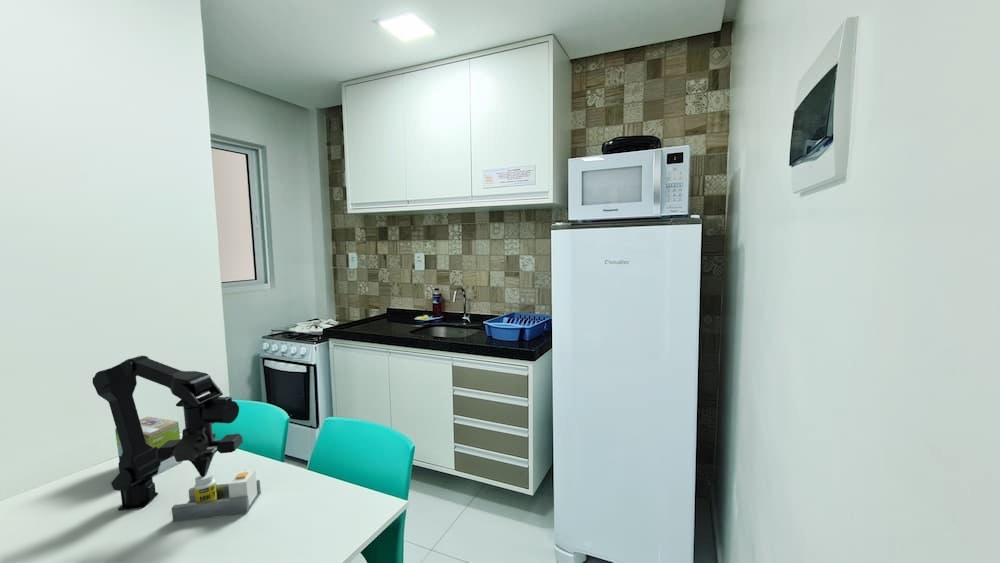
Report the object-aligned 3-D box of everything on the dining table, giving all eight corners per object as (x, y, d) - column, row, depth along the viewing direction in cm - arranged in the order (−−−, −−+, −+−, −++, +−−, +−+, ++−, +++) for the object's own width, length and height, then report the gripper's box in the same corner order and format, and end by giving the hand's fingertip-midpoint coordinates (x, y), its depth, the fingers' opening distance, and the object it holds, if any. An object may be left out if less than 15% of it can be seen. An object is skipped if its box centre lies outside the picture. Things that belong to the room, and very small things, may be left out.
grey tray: (173, 522, 108) (171, 507, 107) (192, 501, 116) (191, 487, 116) (247, 512, 111) (246, 498, 110) (260, 492, 119) (259, 479, 119)
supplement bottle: (199, 512, 110) (196, 482, 109) (193, 506, 113) (190, 477, 112) (220, 503, 113) (217, 474, 113) (213, 497, 116) (211, 469, 115)
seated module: (230, 508, 111) (227, 481, 110) (240, 494, 117) (238, 469, 116) (248, 505, 112) (246, 479, 111) (257, 492, 118) (255, 467, 117)
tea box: (118, 472, 133) (113, 428, 132) (152, 456, 143) (148, 415, 141) (151, 478, 129) (146, 433, 127) (184, 462, 138) (179, 419, 137)
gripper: (138, 438, 101) (145, 498, 103) (221, 431, 104) (227, 488, 106) (166, 419, 112) (172, 473, 114) (241, 413, 115) (246, 465, 117)
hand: (203, 475), depth 112 cm, fingers closed, pressing on supplement bottle
